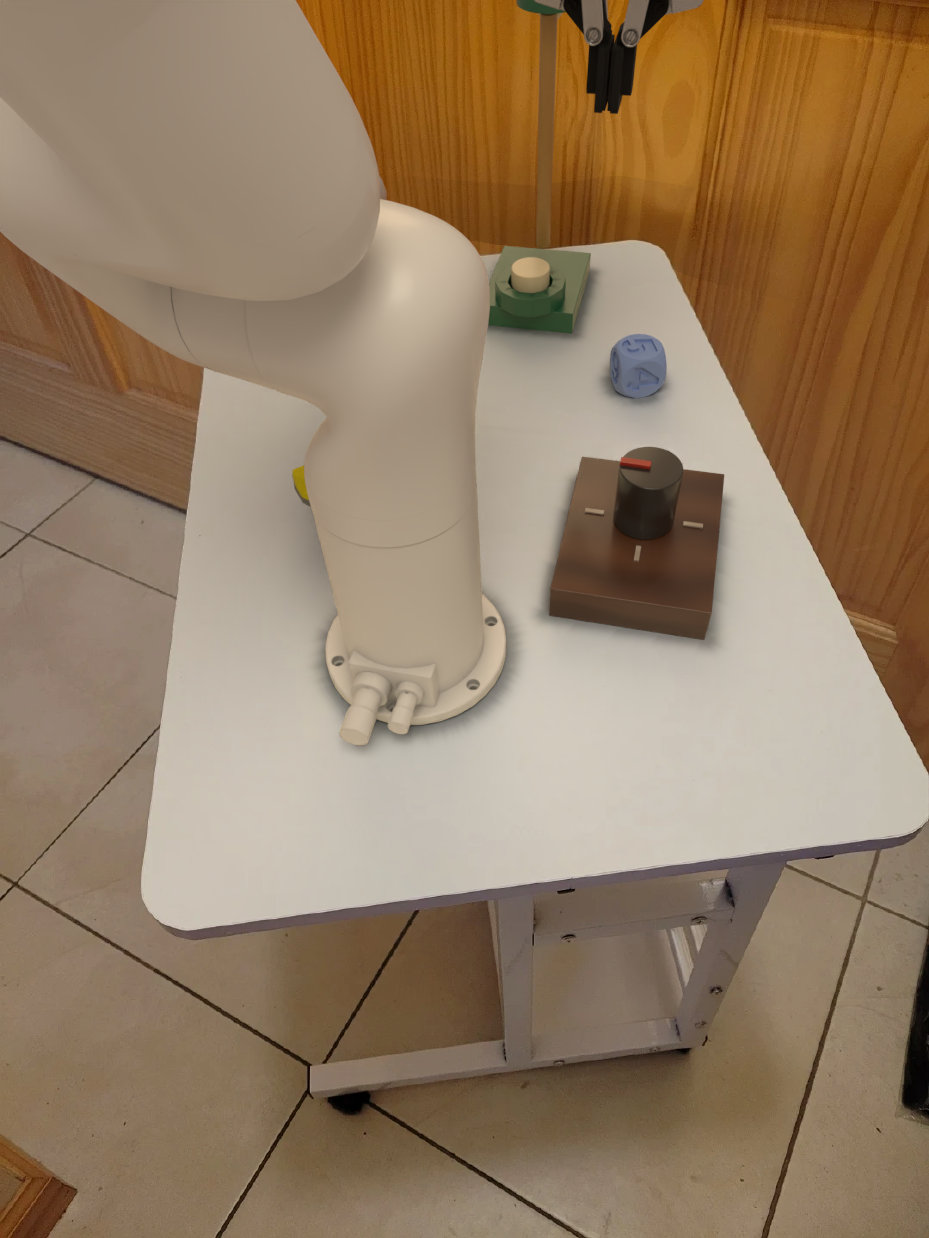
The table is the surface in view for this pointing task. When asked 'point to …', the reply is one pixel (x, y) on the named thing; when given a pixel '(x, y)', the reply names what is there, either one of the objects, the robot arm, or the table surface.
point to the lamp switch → (530, 275)
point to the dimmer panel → (638, 558)
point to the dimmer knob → (647, 492)
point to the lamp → (545, 115)
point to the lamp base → (541, 308)
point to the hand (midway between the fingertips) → (608, 105)
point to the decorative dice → (638, 365)
